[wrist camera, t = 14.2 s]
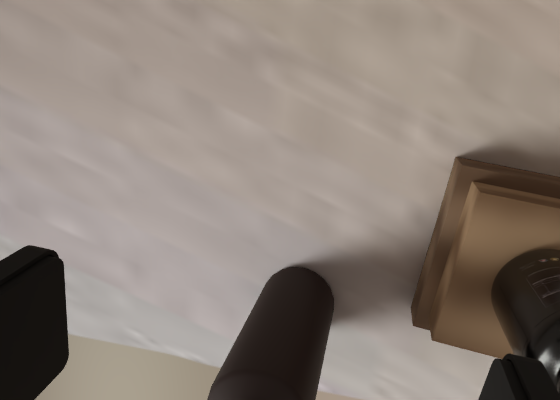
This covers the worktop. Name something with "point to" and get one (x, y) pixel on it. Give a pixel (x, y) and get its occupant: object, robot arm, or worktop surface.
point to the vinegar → (280, 341)
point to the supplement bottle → (531, 307)
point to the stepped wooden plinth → (481, 250)
